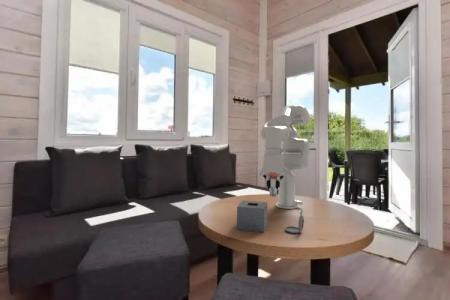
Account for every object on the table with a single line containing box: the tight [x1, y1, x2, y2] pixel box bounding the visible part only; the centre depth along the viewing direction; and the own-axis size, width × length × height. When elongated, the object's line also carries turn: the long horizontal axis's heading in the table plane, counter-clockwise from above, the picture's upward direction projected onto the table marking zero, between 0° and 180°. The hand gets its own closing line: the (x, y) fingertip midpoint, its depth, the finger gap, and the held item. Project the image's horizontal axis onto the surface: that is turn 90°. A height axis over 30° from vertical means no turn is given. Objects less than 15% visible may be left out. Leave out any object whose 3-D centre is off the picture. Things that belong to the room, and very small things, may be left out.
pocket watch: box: [284, 209, 305, 234], centre depth 109 cm, size 8×8×10 cm
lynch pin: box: [268, 173, 278, 197], centre depth 124 cm, size 6×6×12 cm
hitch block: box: [236, 199, 268, 234], centre depth 115 cm, size 12×12×10 cm
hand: (273, 188), depth 125 cm, fingers closed on lynch pin, 3 cm apart
